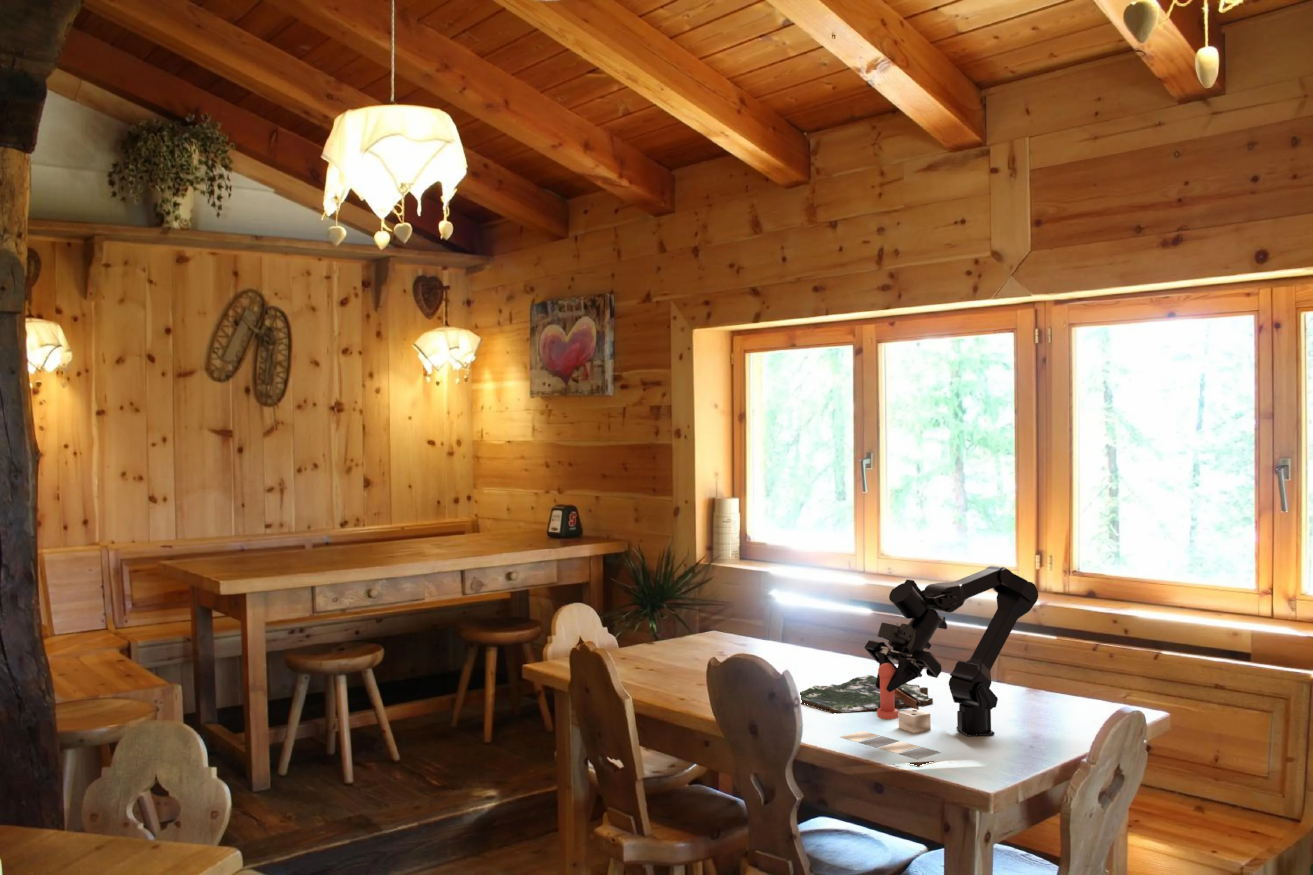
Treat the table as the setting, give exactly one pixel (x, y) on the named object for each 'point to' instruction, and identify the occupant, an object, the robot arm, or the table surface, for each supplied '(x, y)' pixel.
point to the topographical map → (857, 696)
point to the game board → (892, 745)
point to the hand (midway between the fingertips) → (882, 689)
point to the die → (914, 720)
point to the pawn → (886, 693)
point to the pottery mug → (904, 699)
